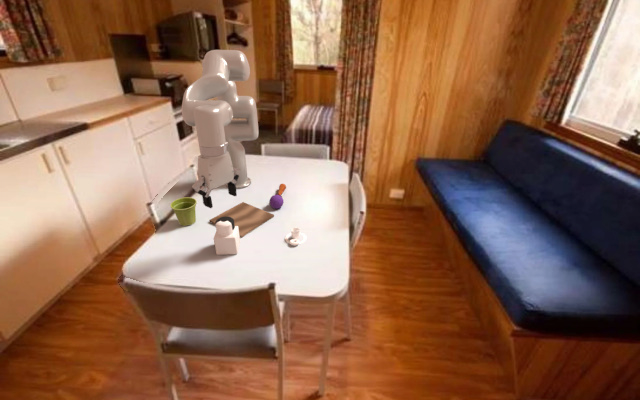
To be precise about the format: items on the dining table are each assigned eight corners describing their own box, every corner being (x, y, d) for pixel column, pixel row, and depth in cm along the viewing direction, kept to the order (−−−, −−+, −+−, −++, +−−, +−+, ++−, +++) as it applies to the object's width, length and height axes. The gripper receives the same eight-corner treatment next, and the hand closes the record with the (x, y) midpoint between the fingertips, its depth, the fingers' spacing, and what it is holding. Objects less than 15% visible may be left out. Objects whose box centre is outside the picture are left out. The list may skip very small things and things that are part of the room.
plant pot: (205, 218, 125) (201, 199, 121) (189, 230, 117) (185, 211, 113) (186, 214, 127) (182, 195, 123) (169, 225, 120) (164, 206, 115)
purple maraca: (289, 182, 147) (283, 199, 129) (287, 193, 149) (281, 212, 131) (277, 179, 147) (269, 196, 128) (275, 191, 149) (267, 209, 131)
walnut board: (209, 222, 123) (209, 219, 122) (243, 203, 136) (242, 201, 135) (241, 237, 114) (241, 235, 113) (274, 216, 127) (273, 214, 127)
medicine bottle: (220, 242, 111) (215, 214, 105) (240, 241, 112) (236, 213, 106) (216, 255, 105) (210, 226, 99) (237, 254, 106) (233, 225, 100)
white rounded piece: (297, 249, 109) (296, 240, 107) (279, 242, 113) (278, 233, 111) (310, 237, 116) (310, 228, 114) (293, 230, 119) (293, 221, 117)
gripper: (227, 140, 99) (233, 188, 107) (179, 154, 86) (190, 208, 94) (244, 144, 95) (249, 193, 103) (196, 160, 82) (206, 215, 90)
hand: (221, 200), depth 98 cm, fingers open, 9 cm apart
